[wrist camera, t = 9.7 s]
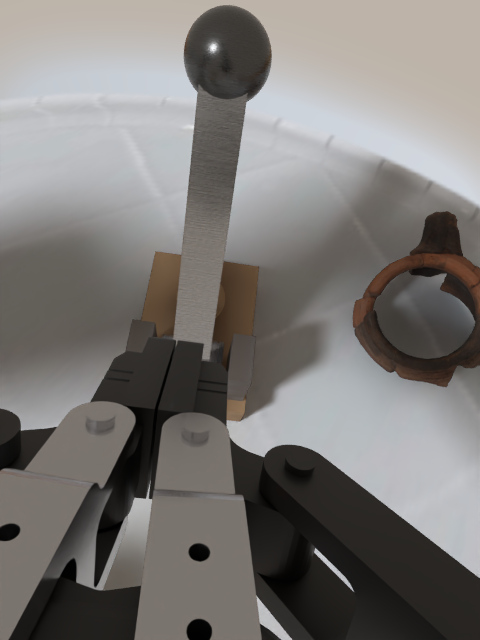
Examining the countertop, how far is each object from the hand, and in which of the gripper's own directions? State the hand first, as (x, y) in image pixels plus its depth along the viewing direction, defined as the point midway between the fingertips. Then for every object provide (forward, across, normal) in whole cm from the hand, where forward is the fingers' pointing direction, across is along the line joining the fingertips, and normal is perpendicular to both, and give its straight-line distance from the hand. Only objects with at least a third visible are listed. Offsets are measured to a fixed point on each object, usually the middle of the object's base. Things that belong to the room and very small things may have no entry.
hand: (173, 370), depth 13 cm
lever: (+12, 0, +7) cm, 14 cm away
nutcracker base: (+17, 0, +7) cm, 18 cm away
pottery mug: (+20, -16, +4) cm, 26 cm away
